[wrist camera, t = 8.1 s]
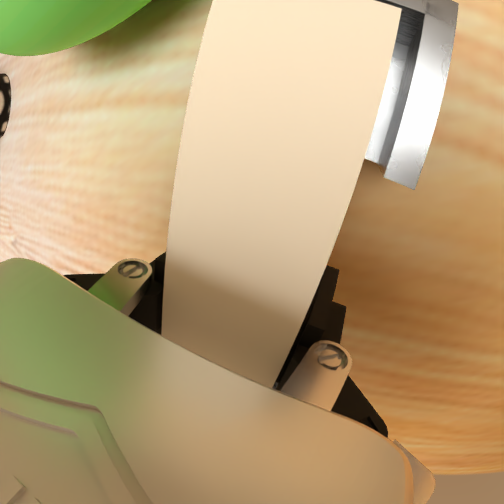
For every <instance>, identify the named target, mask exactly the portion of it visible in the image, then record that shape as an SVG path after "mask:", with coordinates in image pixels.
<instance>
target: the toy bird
mask: <svg viewBox="0 0 504 504" xmlns="http://www.w3.org/2000/svg"><path fill="white" fill-rule="evenodd" d="M150 1H152V0H0V53H3V54H7V55H14V56H35V55H43V54H49V53H53V52H57V51H61V50H65V49H68V48H71V47H74V46H76V45H79V44H81V43H84V42H86V41H88V40H91V39H93V38H95V37H97V36H99V35H101V34H103V33H105V32H106V31H108V30H110V29H112V28H113V27H115V26H116V25H118V24H120V23H121V22H123V21H124V20H126V19H127V18H129V17H130V16H132V15H133V14H134V13H136V12H137V11H139V10H140V9H141V8H143V7H144V6H145V5H147V4H148V3H149V2H150Z"/></svg>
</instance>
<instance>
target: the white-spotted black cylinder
mask: <svg viewBox="0 0 504 504" xmlns="http://www.w3.org/2000/svg"><path fill="white" fill-rule="evenodd" d="M10 99H11V93H10V83H9V79H8V77H7V75H6V74H0V137H1V136H2V135H3V134H4V132H5V129H6V126H7V122H8V118H9V111H10Z"/></svg>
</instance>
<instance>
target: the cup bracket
mask: <svg viewBox="0 0 504 504" xmlns="http://www.w3.org/2000/svg"><path fill="white" fill-rule="evenodd" d="M375 1H379V2H382V3H385V4H389V5H392V6H395V7H398V8H401V9H402V10H401V16H400V21H399V26H398V31H397V36H396V41H395V45H394V50H393V54H392V59H391V63H390V67H389V71H388V76H387V80H386V84H385V88H384V91H383V95H382V99H381V103H380V106H379V110H378V114H377V117H376V121H375V124H374V128H373V131H372V135H371V138H370V141H369V145H368V148H367V151H366V154H365V159H367V160H370V161H373V162H375V163H378V166H379V168H380V170H381V172H382V175H383V177H384V178H387V179H389V180H391V181H394V182H396V183H399V184H401V185H403V186H406V187H408V188H410V189H413V190H415V187H416V184H417V182H418V179H419V176H420V173H421V170H422V167H423V164H424V161H425V158H426V155H427V152H428V149H429V145H430V142H431V139H432V136H433V132H434V129H435V125H436V121H437V118H438V114H439V110H440V106H441V102H442V98H443V94H444V90H445V85H446V81H447V76H448V71H449V66H450V61H451V55H452V50H453V43H454V37H455V30H456V22H457V13H458V3H456V2H454V1H452V0H375Z"/></svg>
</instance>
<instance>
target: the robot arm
mask: <svg viewBox="0 0 504 504" xmlns="http://www.w3.org/2000/svg"><path fill="white" fill-rule="evenodd" d="M165 261H166V252H165V253H163V254H162V255H160V256H159V257H157V258H156V259H155V260H154V261H152V262H151V263H149V264H148V263H147V262H146V261H143V260H140V259H133V258H130V259H124V260H121V261H119V262H118V263H116V264H115V265H114V266H113V267H112V268H111V269H110V270H109V271H108V272H107V273H106V274H73V275H61V274H60V273H58V272H57V271H55V270H53V269H52V268H50V267H48V266H46V265H44V264H41V263H39V262H36V261H33V260H29V259H24V258H11V259H8V260H6V261H3V262H1V263H0V504H426V503H427V501H428V500H429V498H430V497H431V495H432V494H433V492H434V490H435V479H434V476H433V474H432V473H431V472H430V471H429V470H428V469H427V468H426V467H425V466H424V465H423V464H421V463H420V462H419V461H418V460H417V459H416V458H415V457H414V456H413V455H411V454H410V453H409V452H408V451H407V450H406V449H405V448H404V447H403V446H402V445H401V444H399V443H398V442H397V441H396V440H394V441H393V442H392V441H391V440H390V439H389V438H388V431H387V426H386V425H385V423H384V421H383V420H382V419H381V417H380V416H379V415H378V413H377V412H376V411H375V409H374V408H373V407H372V406H371V404H370V403H369V402H368V400H367V399H366V398H365V396H364V395H363V394H362V393H361V391H360V390H359V389H358V387H357V386H356V385H355V383H354V382H353V381H352V379H351V378H350V377H349V376H348V374H349V372H350V369H351V367H352V358H351V356H350V354H349V352H348V351H347V350H346V349H345V348H344V347H343V346H341V345H340V341H341V335H342V330H343V324H344V318H345V313H346V306H343V305H341V304H338V303H336V302H333V301H332V300H333V296H334V291H335V287H336V283H337V278H338V274H339V270H338V269H335V268H333V267H330V266H328V265H327V266H326V268H325V270H324V273H323V275H322V277H321V280H320V282H319V285H318V287H317V290H316V292H315V295H314V297H313V299H312V302H311V304H310V306H309V309H308V311H307V313H306V316H305V318H304V320H303V323H302V325H301V327H300V329H299V332H298V334H297V336H296V338H295V341H294V343H293V345H292V347H291V349H290V351H289V354H288V356H287V358H286V360H285V362H284V364H283V366H282V369H281V371H280V373H279V375H278V377H277V379H276V381H275V382H277V383H278V385H277V388H276V390H275V389H273V388H270V387H268V386H266V385H263V384H261V383H259V382H256V381H254V380H252V379H249V378H247V377H245V376H243V375H240V374H238V373H236V372H234V371H231V370H229V369H227V368H225V367H223V366H221V365H219V364H217V363H215V362H212V361H210V360H208V359H206V358H204V357H202V356H200V355H198V354H196V353H194V352H192V351H190V350H188V349H186V348H184V347H182V346H180V345H179V344H177V343H175V342H173V341H171V340H169V339H167V338H165V337H163V336H162V335H161V332H162V307H163V289H164V274H165Z"/></svg>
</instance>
